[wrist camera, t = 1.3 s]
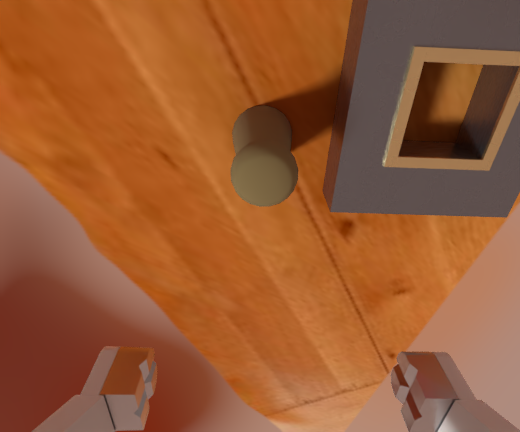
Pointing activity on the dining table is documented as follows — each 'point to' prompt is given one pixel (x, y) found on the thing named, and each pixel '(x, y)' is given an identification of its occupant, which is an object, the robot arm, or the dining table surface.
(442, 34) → the block
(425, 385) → the robot arm
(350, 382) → the dining table surface
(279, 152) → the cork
